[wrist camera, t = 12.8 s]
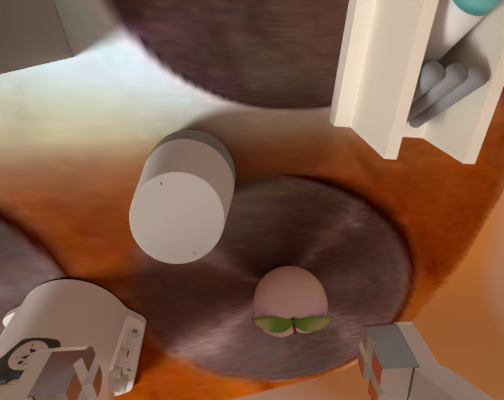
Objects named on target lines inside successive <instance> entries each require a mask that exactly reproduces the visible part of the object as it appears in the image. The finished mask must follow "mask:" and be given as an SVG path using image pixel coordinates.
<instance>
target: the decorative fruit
mask: <svg viewBox="0 0 504 400" xmlns="http://www.w3.org/2000/svg"><path fill="white" fill-rule="evenodd" d="M253 308H254V314H255V317H256V318H252V321H253V322H254V323H255V324H256V325H257V326H259V327H260V328H262V329H263V330H264V331H265V332H267V333H268V334H270V335H273V336H277V337H286V336H288V335H290V334H292V333H293V332H294V334H296V333H297V332H300V333H309V332H313V331H317V330H320V329H322V328H323V327H325V326H326V325H328V324H329V323H330V322H331V320H332V319H333V317H326V315H327V309H328V303H327V297H326V294H325V291H324V289H323V287H322V285H321V283H320V282H319V281H318V279H317V278H316V277H315V276H314V275H313V274H311V273H310V272H309V271H307V270H305V269H303V268H300V267H296V266H283V267H279V268H276V269H273V270H271V271H270V272H268V273H267V274H266V275H265V276H264V277H263V278H262V279H261V280H260V282H259V284H258V286H257V288H256V290H255V294H254V300H253Z"/></svg>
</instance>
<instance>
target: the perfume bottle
mask: <svg viewBox="0 0 504 400" xmlns="http://www.w3.org/2000/svg"><path fill="white" fill-rule="evenodd" d="M71 57H73V54H72V51H71V48H70V46H69V43H68V40H67V37H66V34H65V32H64V29H63V26H62V23H61V20H60V18H59V15H58V12H57V9H56V7H55V4H54V1H53V0H0V74H2V73H7V72H11V71H15V70H19V69H24V68H28V67H32V66H37V65H41V64H45V63H50V62H54V61H58V60H62V59H67V58H71Z"/></svg>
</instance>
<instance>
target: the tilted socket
mask: <svg viewBox="0 0 504 400" xmlns="http://www.w3.org/2000/svg"><path fill="white" fill-rule="evenodd" d="M438 2H439V0H349V5H348V11H347V17H346V23H345V29H344V35H343V40H342V46H341V52H340V58H339V64H338V70H337V75H336V81H335V87H334V93H333V99H332V104H331V110H330V116H329V121H330V122H331V123H332V124H333V125H334V126H339V127H351V128H352V129H353V130H354V131H355V132H356V133H357V134H358V135H359V136H360V137H361V138H363V139H364V140H365V141H366V142H367V143H368V144H369V145H370V146H371V147H372V148H373V149H374V150H375V151H376V152H378V153H379V154H380V155H381V156H382V157H383V158H384V159H397V155H398V152H399V148H400V144H401V140H402V137H414V138H423V139H425V140H427V141H428V142H430V143H431V144H433V145H434V146H436V147H438V148H439V149H441V150H442V151H444V152H446V153H447V154H449V155H450V156H452V157H453V158H455V159H457V160H458V161H460V162H461V163H463V164H475V162H476V159H477V157H478V154H479V151H480V149H481V146H482V143H483V140H484V138H485V135H486V132H487V130H488V127H489V124H490V122H491V119H492V116H493V113H494V111H495V108H496V105H497V103H498V100H499V97H500V94H501V92H502V89H503V86H504V0H502V1H501V2H500V3H499V4H498V5H497V6H496V7H495V8H494V9H493V10H492V11H491V12H490V13H488V14H487V15H485V16H484V17H483V18H482V19H481V20H480V21H479V22H478V23H477V24H476V25H475V26H474V27H473V28H471V29H470V30H469V31H468V32H467V33H466V34H465V35H464V36H463V37H462V38H461V39H460V40H459V41H458V42H457V43H456V44H455V45H454V46H453V47H452V48H451V49H450V50H449V51H448V52H447V53H446V54H445V55H444V56H443V57H442V58H441V59H440V60H439V61H438V62H435V61H431V62H428V63H426V64H425V65H424V66H423V67H422V68H421V66H422V62H423V58H424V54H425V51H426V47H427V43H428V39H429V36H430V32H431V28H432V24H433V21H434V17H435V13H436V9H437V6H438Z"/></svg>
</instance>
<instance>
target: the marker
mask: <svg viewBox="0 0 504 400" xmlns="http://www.w3.org/2000/svg"><path fill="white" fill-rule="evenodd" d="M501 1H502V0H439V2H438V6H437V9H436V13H435V17H434V21H433V24H432V28H431V32H430V36H429V39H428V43H427V47H426V51H425V54H424V58H423V62H422V66H421V68H422V67H423V66H424V65H425V64H426V63H428V62H431V61H435V62H438V61H439V60H440V59H441V58H442V57H443V56H444V55H445V54H446V53H447V52H448V51H449V50H450V49H451V48H452V47H453V46H454V45H455V44H456V43H457V42H458V41H459V40H460V39H461V38H462V37H463V36H464V35H465V34H466V33H467V32H468V31H469V30H470V29H471V28H473V27H474V26H475V25H476V24H477V23H478V22H479V21H480V20H481V19H482V18H483V17H484V16H485V15H487V14H488V13H490V12H491V11H492V10H493V9H494V8H495V7H496V6H497V5H498V4H499V3H500V2H501Z"/></svg>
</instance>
